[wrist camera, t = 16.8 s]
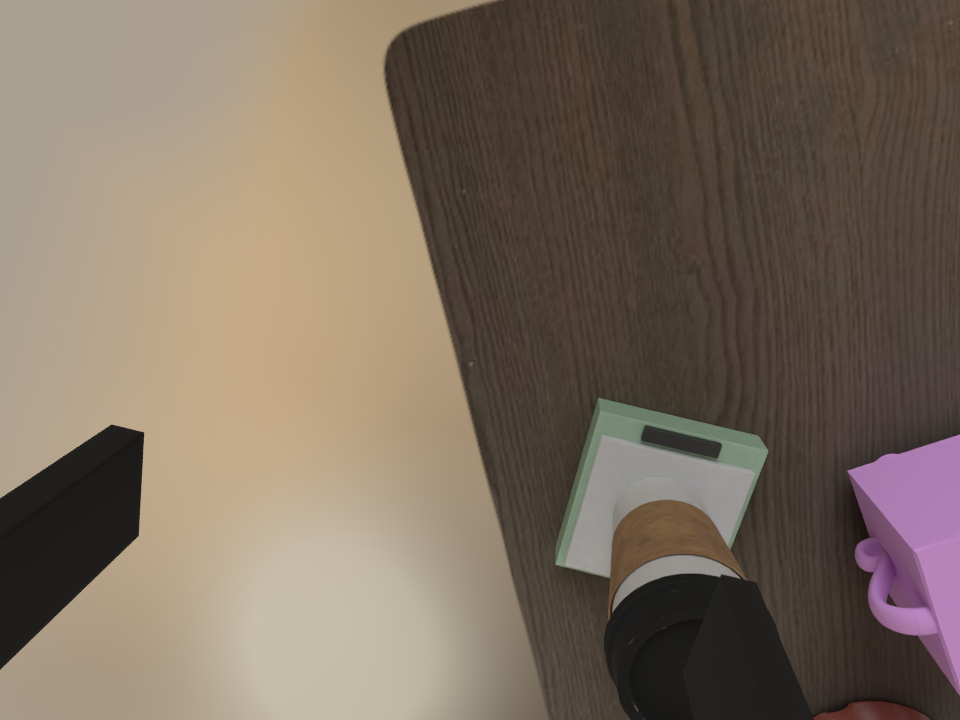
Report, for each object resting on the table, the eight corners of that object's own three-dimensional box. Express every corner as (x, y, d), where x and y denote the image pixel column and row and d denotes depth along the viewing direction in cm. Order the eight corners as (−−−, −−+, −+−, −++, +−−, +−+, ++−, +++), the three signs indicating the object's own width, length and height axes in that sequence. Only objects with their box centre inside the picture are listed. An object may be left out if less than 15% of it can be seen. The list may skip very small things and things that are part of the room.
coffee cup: (572, 539, 48) (575, 713, 34) (630, 437, 45) (661, 579, 31) (684, 589, 48) (734, 782, 34) (749, 490, 45) (833, 656, 31)
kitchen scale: (555, 545, 52) (554, 570, 49) (598, 397, 48) (600, 414, 45) (703, 582, 51) (711, 609, 48) (759, 435, 47) (771, 455, 44)
